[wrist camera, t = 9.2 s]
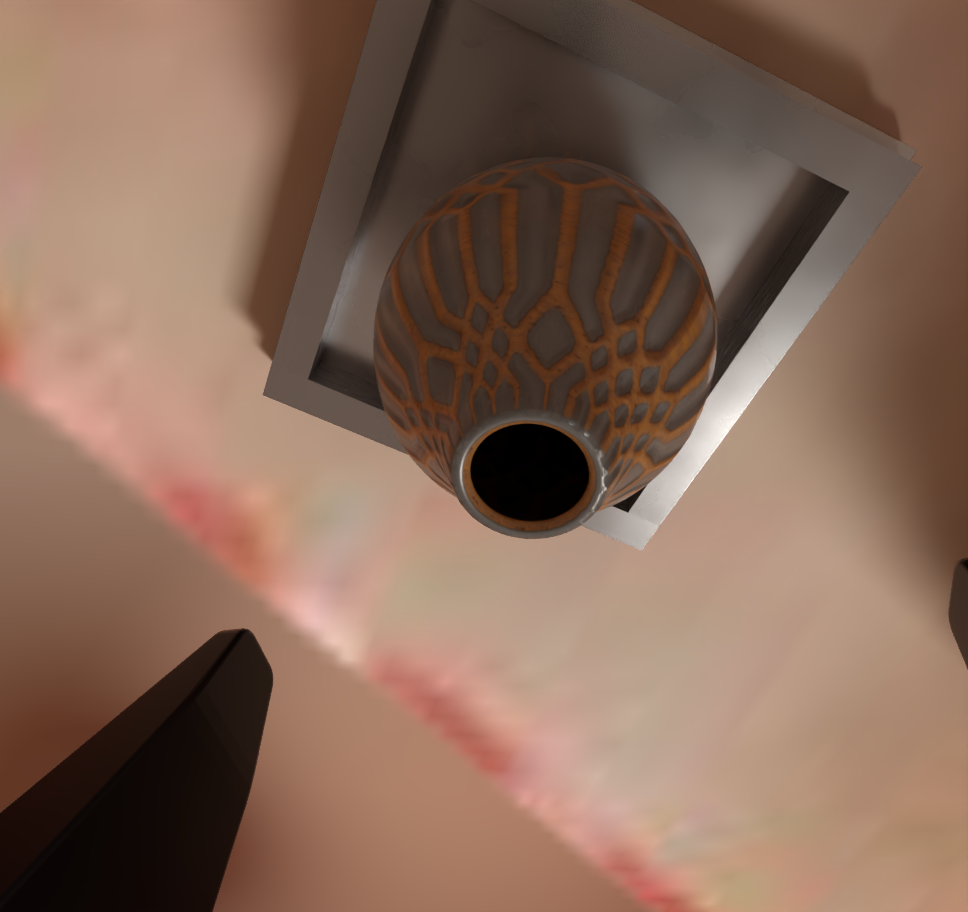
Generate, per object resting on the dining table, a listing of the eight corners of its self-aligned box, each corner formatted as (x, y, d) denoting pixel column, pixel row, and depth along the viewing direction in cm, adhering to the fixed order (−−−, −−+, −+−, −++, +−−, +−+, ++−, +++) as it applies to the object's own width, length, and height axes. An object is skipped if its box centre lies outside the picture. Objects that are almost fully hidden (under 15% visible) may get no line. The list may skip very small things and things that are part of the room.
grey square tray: (902, 144, 16) (940, 160, 15) (639, 518, 23) (644, 559, 21) (417, -111, 15) (397, -125, 13) (277, 367, 21) (251, 399, 19)
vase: (359, 227, 18) (206, 392, 11) (614, 67, 15) (648, 136, 8) (499, 439, 21) (457, 684, 13) (733, 333, 18) (837, 562, 11)
